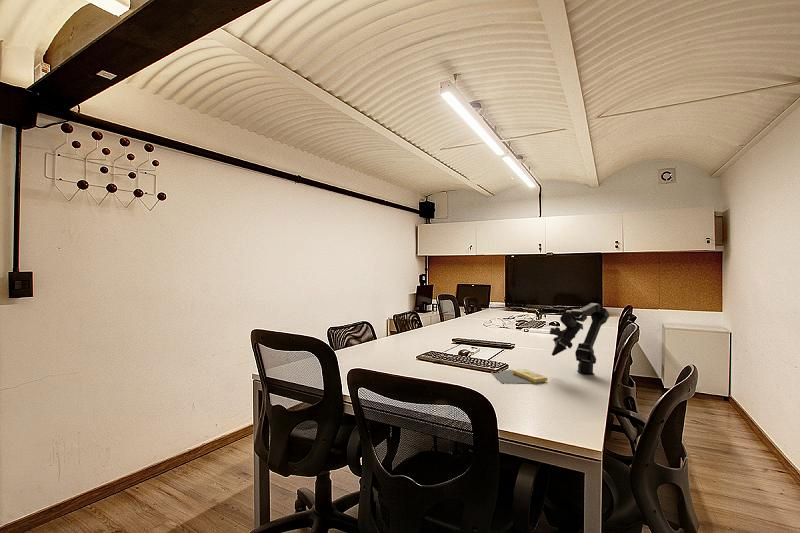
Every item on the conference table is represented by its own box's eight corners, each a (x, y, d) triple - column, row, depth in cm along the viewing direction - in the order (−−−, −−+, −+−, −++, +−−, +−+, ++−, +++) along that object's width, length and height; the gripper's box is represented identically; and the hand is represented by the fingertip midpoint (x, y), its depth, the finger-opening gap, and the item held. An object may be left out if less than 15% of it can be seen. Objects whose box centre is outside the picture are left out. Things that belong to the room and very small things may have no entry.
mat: (525, 371, 211) (525, 370, 211) (541, 383, 189) (541, 382, 189) (489, 370, 211) (489, 370, 211) (501, 383, 189) (501, 382, 189)
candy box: (524, 372, 207) (512, 373, 204) (524, 368, 207) (512, 369, 204) (547, 381, 193) (534, 382, 189) (547, 377, 193) (534, 378, 189)
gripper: (553, 322, 212) (536, 344, 212) (561, 321, 194) (542, 345, 193) (571, 335, 209) (553, 358, 209) (580, 335, 191) (561, 360, 191)
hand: (552, 355), depth 201 cm, fingers closed
